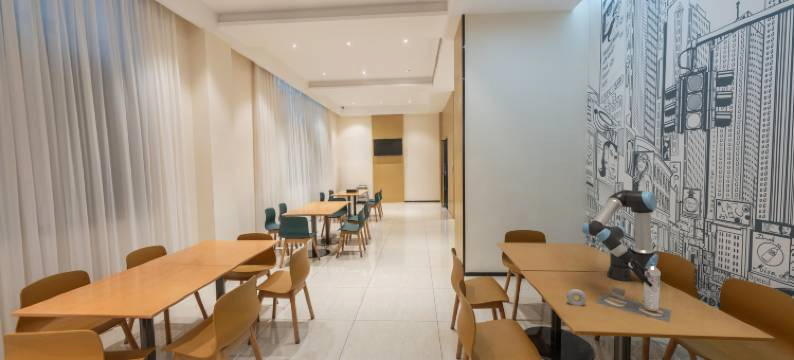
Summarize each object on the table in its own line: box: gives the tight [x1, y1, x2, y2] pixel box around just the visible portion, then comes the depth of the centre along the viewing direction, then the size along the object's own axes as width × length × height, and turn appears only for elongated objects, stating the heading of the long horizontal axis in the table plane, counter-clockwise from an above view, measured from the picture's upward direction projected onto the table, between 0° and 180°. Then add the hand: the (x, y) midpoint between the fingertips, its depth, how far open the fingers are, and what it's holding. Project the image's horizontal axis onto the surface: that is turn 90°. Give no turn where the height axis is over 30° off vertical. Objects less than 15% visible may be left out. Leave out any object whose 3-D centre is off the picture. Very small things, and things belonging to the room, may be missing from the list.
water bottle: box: [642, 263, 662, 311], centre depth 170 cm, size 7×7×25 cm
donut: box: [566, 288, 587, 307], centre depth 180 cm, size 10×4×10 cm, turn 75°
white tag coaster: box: [604, 286, 627, 307], centre depth 183 cm, size 14×11×6 cm
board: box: [596, 293, 672, 323], centre depth 177 cm, size 18×32×1 cm, turn 46°
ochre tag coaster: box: [638, 297, 664, 317], centre depth 172 cm, size 14×11×6 cm
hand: (657, 289), depth 168 cm, fingers closed on water bottle, 7 cm apart
